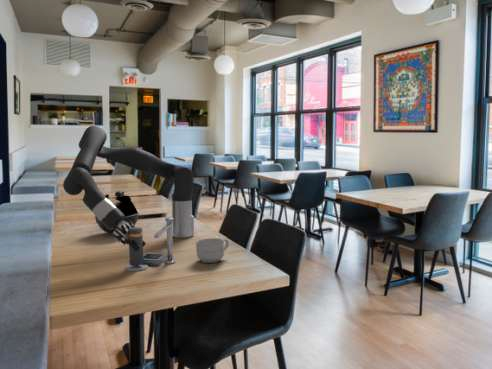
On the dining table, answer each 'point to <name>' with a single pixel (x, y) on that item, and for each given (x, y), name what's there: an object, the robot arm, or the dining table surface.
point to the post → (170, 246)
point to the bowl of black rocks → (125, 208)
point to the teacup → (211, 249)
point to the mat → (136, 267)
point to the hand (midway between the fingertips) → (141, 247)
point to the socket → (154, 258)
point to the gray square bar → (164, 228)
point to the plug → (136, 235)
